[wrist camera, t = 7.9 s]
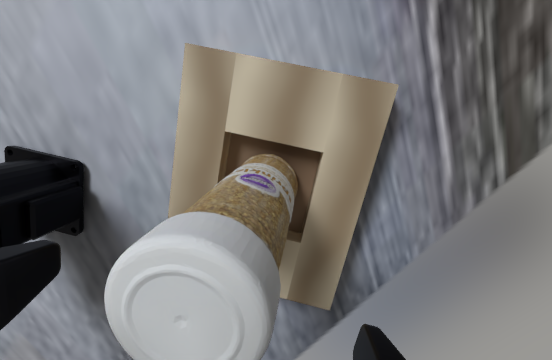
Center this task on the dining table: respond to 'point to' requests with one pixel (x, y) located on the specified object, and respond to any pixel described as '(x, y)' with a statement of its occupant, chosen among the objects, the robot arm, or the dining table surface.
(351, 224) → the socket block
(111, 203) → the dining table surface
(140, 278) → the sprinkles bottle
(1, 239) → the robot arm
